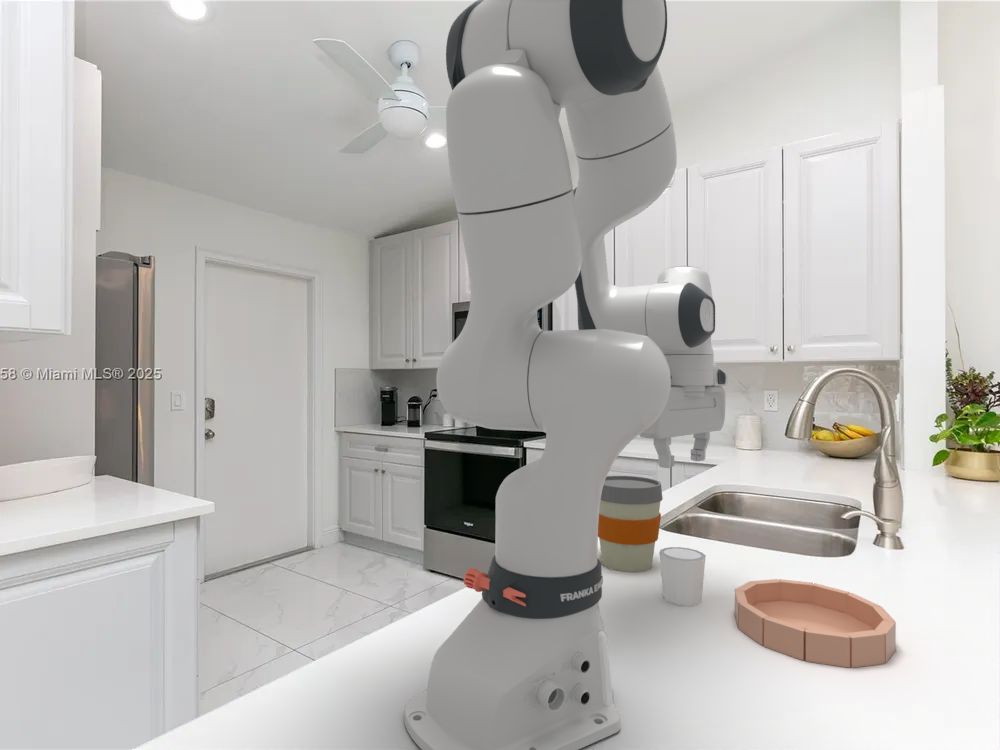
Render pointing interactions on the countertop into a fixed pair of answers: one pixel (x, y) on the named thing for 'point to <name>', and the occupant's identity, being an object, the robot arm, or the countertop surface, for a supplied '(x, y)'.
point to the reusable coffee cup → (629, 522)
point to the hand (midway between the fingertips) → (682, 463)
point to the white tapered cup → (682, 575)
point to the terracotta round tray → (815, 622)
